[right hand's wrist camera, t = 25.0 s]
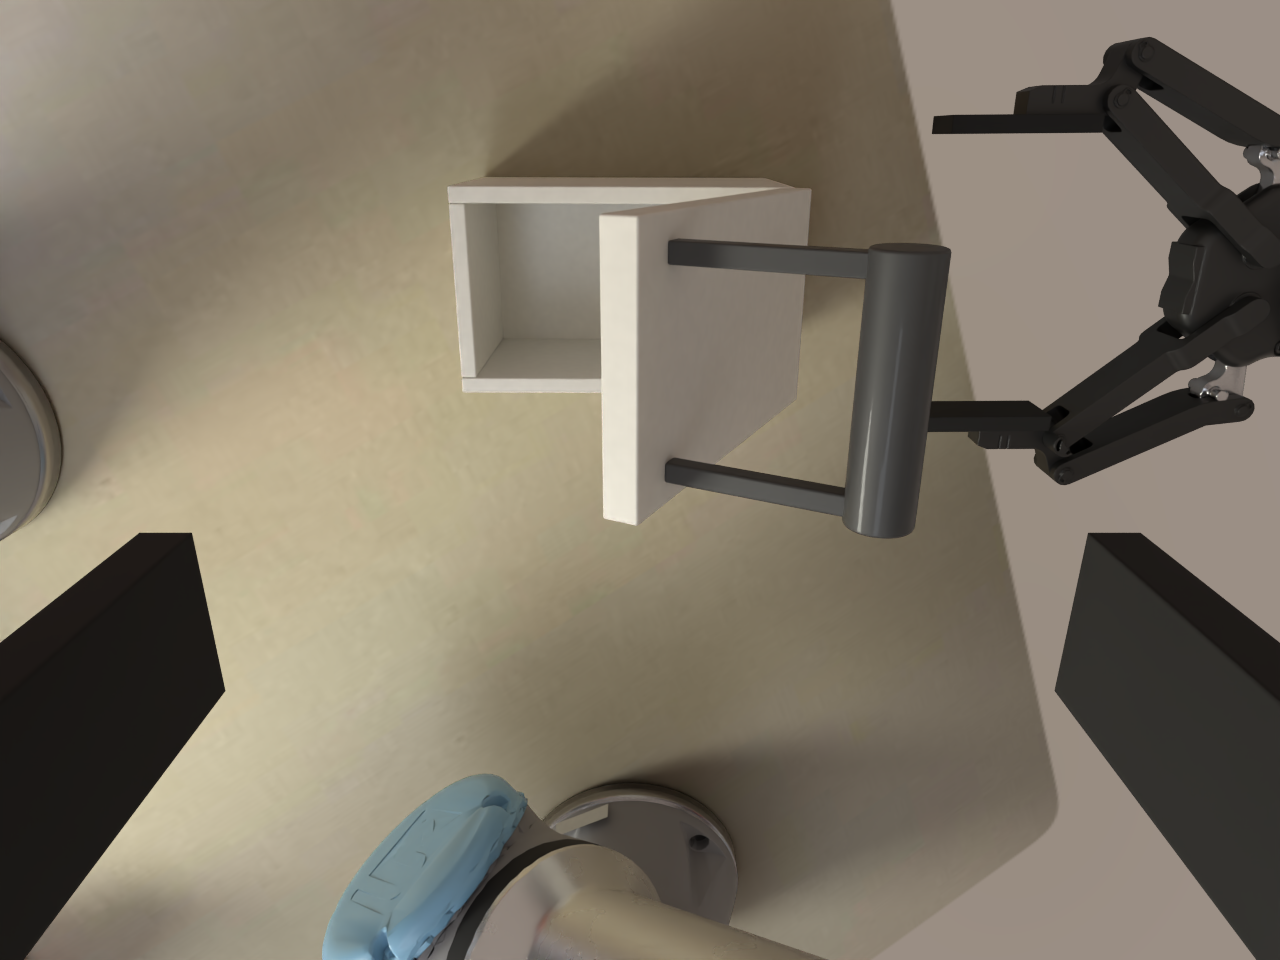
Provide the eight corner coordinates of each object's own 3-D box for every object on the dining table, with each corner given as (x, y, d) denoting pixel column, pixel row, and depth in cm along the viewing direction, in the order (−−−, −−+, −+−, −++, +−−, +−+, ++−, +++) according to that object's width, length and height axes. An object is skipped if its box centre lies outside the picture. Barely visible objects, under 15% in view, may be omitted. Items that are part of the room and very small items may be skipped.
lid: (602, 519, 27) (894, 584, 23) (597, 213, 24) (939, 229, 20) (770, 396, 40) (976, 424, 36) (783, 187, 37) (1012, 194, 33)
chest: (493, 348, 49) (462, 392, 41) (483, 176, 46) (446, 185, 37) (757, 349, 49) (781, 393, 41) (766, 177, 46) (795, 186, 37)
